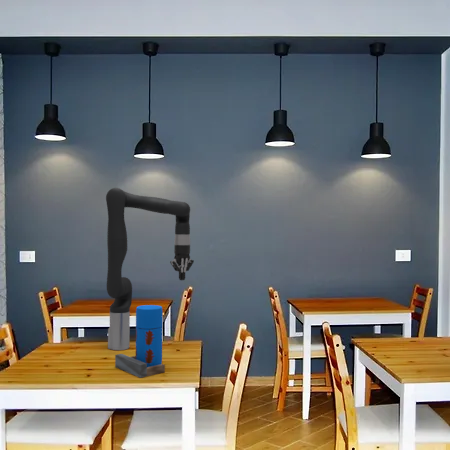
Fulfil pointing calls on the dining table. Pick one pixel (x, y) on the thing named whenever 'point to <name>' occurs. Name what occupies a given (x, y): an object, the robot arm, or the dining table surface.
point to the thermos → (149, 334)
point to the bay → (137, 366)
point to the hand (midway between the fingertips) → (181, 280)
